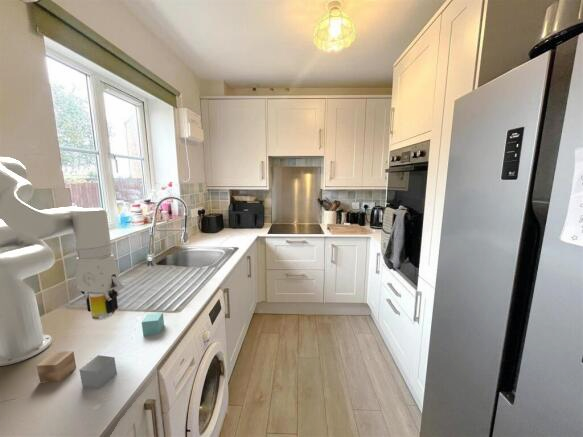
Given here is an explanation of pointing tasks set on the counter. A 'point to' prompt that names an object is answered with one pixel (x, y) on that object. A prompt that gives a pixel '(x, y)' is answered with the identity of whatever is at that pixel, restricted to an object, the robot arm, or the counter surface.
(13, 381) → the counter surface
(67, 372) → the walnut block
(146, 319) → the teal block
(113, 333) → the counter surface
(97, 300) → the supplement bottle
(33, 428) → the counter surface
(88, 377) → the slate block
